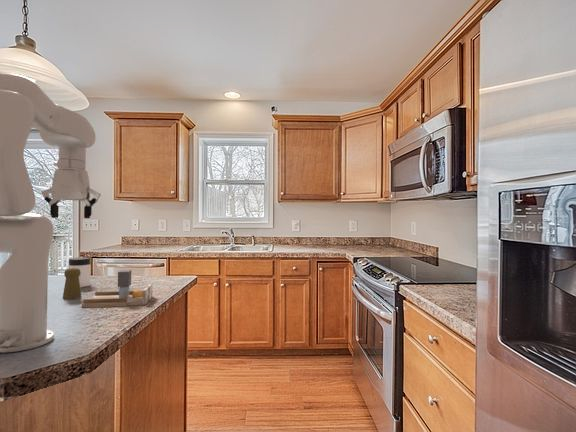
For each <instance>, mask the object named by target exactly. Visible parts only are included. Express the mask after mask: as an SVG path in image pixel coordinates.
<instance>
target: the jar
mask: <svg viewBox="0 0 576 432" xmlns="http://www.w3.org/2000/svg"><path fill="white" fill-rule="evenodd" d="M67 267H68V268H67V269H69V268H78V269H80V272H81V274H80V276H79V283H80V288H86V287H89V286H91V281H92V279H91V278H92V277H91V273H92V271H91V270H92V264H91V257H86V256H83V257H80V256H79V257H71V258H69V259H68V265H67Z"/></svg>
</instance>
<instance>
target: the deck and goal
mask: <svg viewBox="0 0 576 432" xmlns="http://www.w3.org/2000/svg"><path fill="white" fill-rule="evenodd" d="M134 291H135V290H129V295H128V296H127V297H126V298H119V290H118V291H117V290H114V291H113V290H112V291H110V290H108V291H107V290H105V291H95V292H94V296H91V297H90V298H84V299H83V298H82V299H83V300H82V303H81V308H103V307H106V308H108V307H110V308H111V307H127V306H146V305H147V304H148V302H149V301H150V300H151V299H152V298H153V283H149V284H148V285H146V286H145V287H144V289H142V290H141V291H142V297H137V298H132V294H133V292H134Z"/></svg>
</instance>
